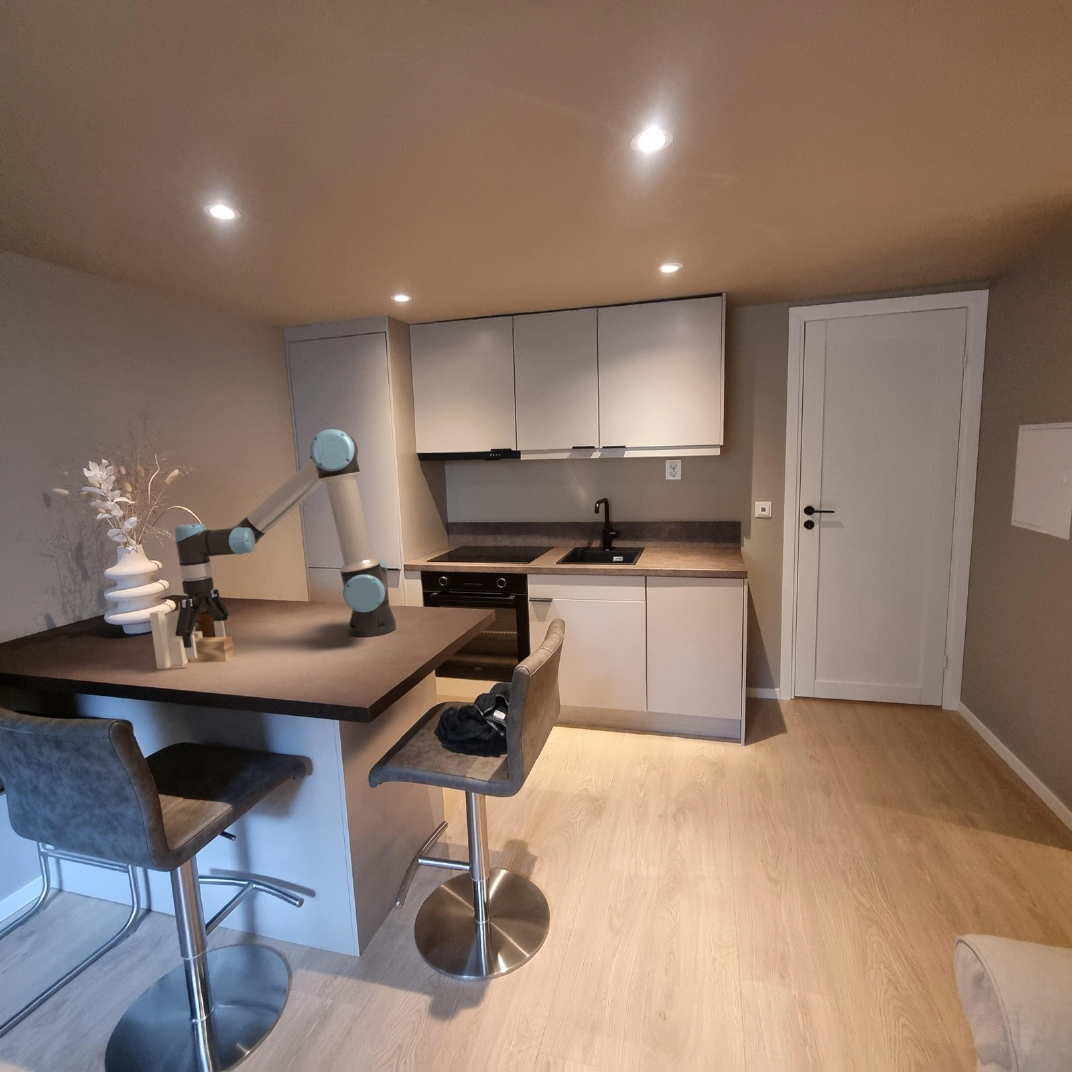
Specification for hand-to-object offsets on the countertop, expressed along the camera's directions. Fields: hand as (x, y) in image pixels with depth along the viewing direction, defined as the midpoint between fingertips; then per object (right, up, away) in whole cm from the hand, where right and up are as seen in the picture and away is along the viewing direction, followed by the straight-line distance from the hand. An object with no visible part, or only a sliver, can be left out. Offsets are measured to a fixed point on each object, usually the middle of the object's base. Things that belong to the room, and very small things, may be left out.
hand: (207, 649), depth 164 cm
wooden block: (0, -3, 0) cm, 3 cm away
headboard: (-7, -3, +1) cm, 7 cm away
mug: (-10, -1, +17) cm, 19 cm away
